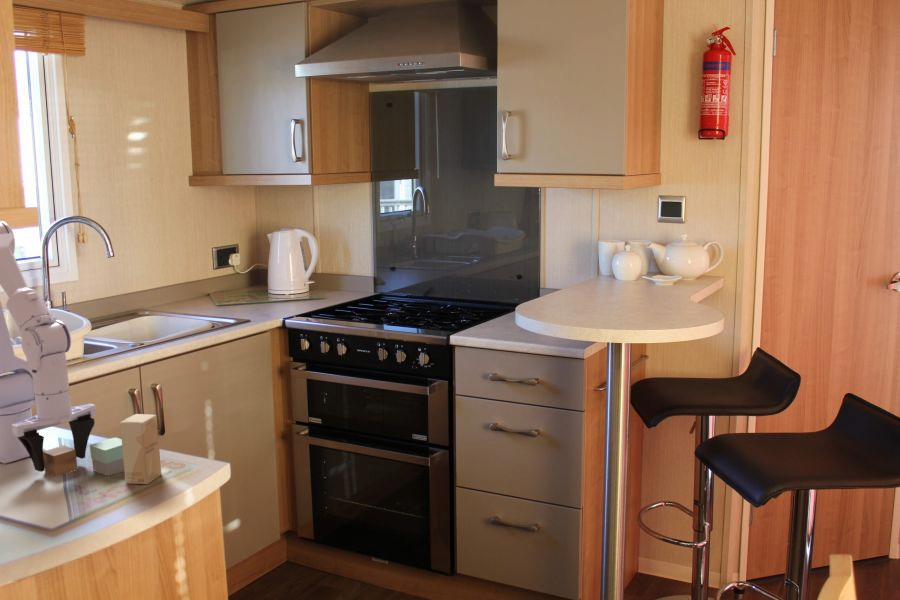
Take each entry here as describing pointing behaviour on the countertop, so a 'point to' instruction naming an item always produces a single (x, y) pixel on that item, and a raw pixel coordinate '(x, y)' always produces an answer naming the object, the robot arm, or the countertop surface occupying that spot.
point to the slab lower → (108, 467)
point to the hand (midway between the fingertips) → (60, 463)
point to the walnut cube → (60, 460)
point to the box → (140, 448)
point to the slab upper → (107, 450)
